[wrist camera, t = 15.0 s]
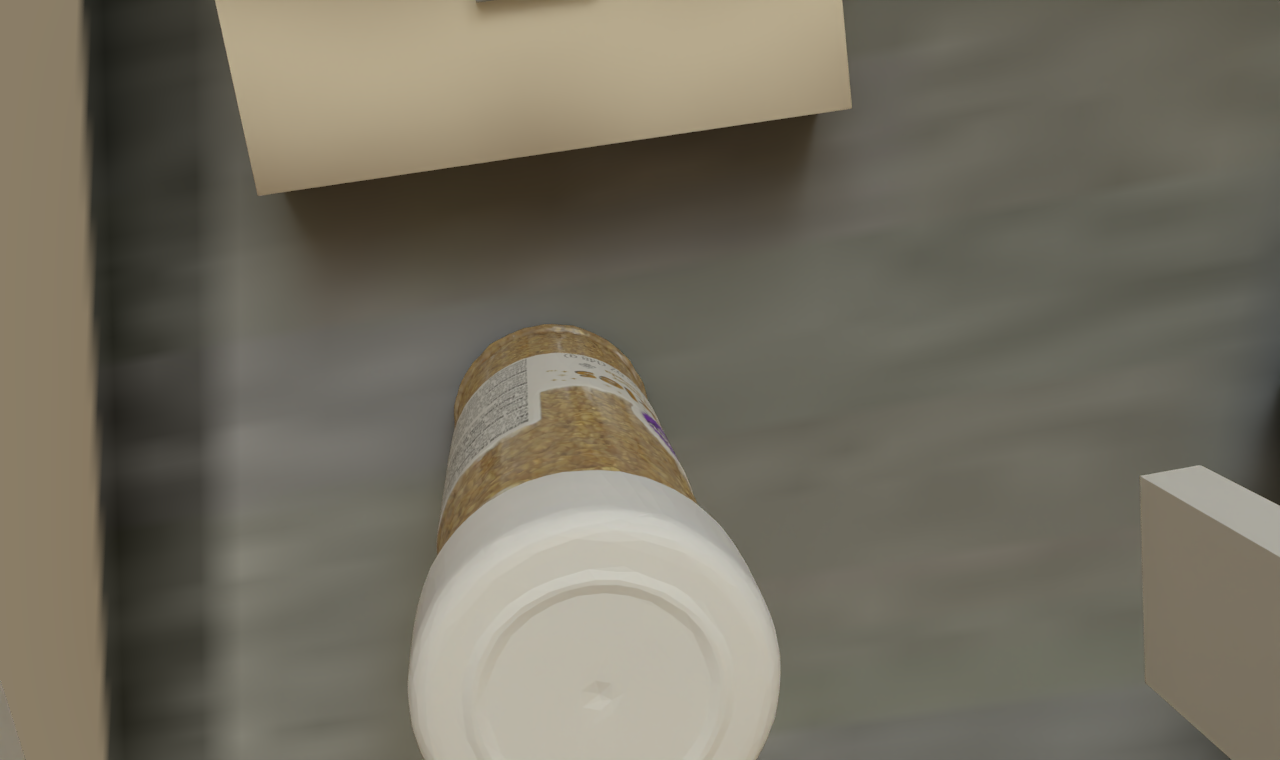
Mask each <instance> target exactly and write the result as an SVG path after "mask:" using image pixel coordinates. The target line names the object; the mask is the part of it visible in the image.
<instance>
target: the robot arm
mask: <svg viewBox="0 0 1280 760" xmlns="http://www.w3.org/2000/svg"><path fill="white" fill-rule="evenodd" d="M1140 502H1141V540H1142V579H1143V618H1144V656H1145V683H1146V684H1147V685H1149V686H1150V687H1151V688H1152V689H1153V690H1154V691H1155V692H1156V693H1158V694H1159V695H1160V696H1161V697H1162V698H1163V699H1164V700H1165V701H1167V702H1168V703H1169V704H1170V705H1171V706H1172V707H1173V708H1174V709H1175V710H1177V711H1178V712H1179V713H1180V714H1181V715H1182V716H1183V717H1184V718H1186V719H1187V720H1188V721H1189V722H1190V723H1191V724H1192V725H1193V726H1195V727H1196V728H1197V729H1198V730H1199V731H1200V732H1201V733H1202V734H1203V735H1205V736H1206V737H1207V738H1208V739H1209V740H1210V741H1211V742H1212V743H1214V744H1215V745H1216V746H1217V747H1218V748H1219V749H1220V750H1221V751H1223V752H1224V753H1225V754H1226V755H1227V756H1228V757H1229V758H1230V759H1231V760H1280V506H1279V505H1277V504H1275V503H1273V502H1271V501H1269V500H1267V499H1266V498H1264V497H1262V496H1260V495H1258V494H1256V493H1254V492H1252V491H1250V490H1248V489H1246V488H1244V487H1242V486H1240V485H1238V484H1236V483H1234V482H1232V481H1230V480H1229V479H1227V478H1225V477H1223V476H1221V475H1219V474H1217V473H1215V472H1213V471H1211V470H1209V469H1207V468H1205V467H1203V466H1201V465H1198V466H1193V467H1187V468H1181V469H1176V470H1170V471H1165V472H1159V473H1154V474H1148V475H1142V476H1140ZM0 760H26V759H25V756H24V753H23V750H22V747H21V744H20V741H19V737H18V734H17V731H16V728H15V724H14V721H13V718H12V715H11V712H10V709H9V705H8V702H7V699H6V696H5V693H4V689H3V687H2V684H1V681H0Z"/></svg>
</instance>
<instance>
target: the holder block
mask: <svg viewBox="0 0 1280 760" xmlns="http://www.w3.org/2000/svg"><path fill="white" fill-rule="evenodd" d="M215 2H216V7H217V12H218V16H219V21H220V25H221V30H222V34H223V39H224V44H225V48H226V53H227V57H228V62H229V66H230V71H231V76H232V80H233V85H234V89H235V94H236V98H237V103H238V107H239V112H240V117H241V121H242V126H243V130H244V135H245V139H246V144H247V149H248V153H249V158H250V162H251V167H252V171H253V176H254V181H255V185H256V190H257V194H258V196H261V195H267V194H274V193H281V192H288V191H295V190H301V189H308V188H315V187H322V186H329V185H335V184H342V183H349V182H356V181H363V180H369V179H376V178H383V177H390V176H397V175H403V174H410V173H417V172H424V171H431V170H437V169H444V168H451V167H458V166H464V165H471V164H478V163H485V162H492V161H498V160H505V159H512V158H519V157H526V156H532V155H539V154H546V153H553V152H560V151H566V150H573V149H580V148H587V147H594V146H600V145H607V144H614V143H621V142H628V141H634V140H641V139H648V138H655V137H662V136H668V135H675V134H682V133H689V132H696V131H702V130H709V129H716V128H723V127H729V126H736V125H743V124H750V123H757V122H763V121H770V120H777V119H784V118H791V117H797V116H804V115H811V114H818V113H825V112H831V111H838V110H845V109H852V102H851V91H850V80H849V69H848V59H847V48H846V37H845V26H844V15H843V5H842V0H215Z"/></svg>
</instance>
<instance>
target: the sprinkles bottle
mask: <svg viewBox="0 0 1280 760" xmlns="http://www.w3.org/2000/svg"><path fill="white" fill-rule="evenodd" d="M454 417H455V430H454V434H453V438H452V443H451V448H450V454H449V460H448V466H447V474H446V480H445V487H444V493H443V499H442V506H441V513H440V519H439V525H438V534H437V557H436V559H435V560H434V562H433V564H432V566H431V567H430V570H429V573H428V575H427V578H426V580H425V583H424V586H423V588H422V592H421V596H420V599H419V603H418V607H417V612H416V618H415V624H414V629H413V636H412V644H411V653H410V662H409V674H408V686H407V687H408V699H409V709H410V716H411V723H412V729H413V732H414V735H415V738H416V741H417V744H418V747H419V749H420V752H421V754H422V756H423V758H424V760H756V759H757V757H758V756H759V754H760V752H761V750H762V748H763V746H764V744H765V742H766V740H767V738H768V735H769V732H770V730H771V727H772V725H773V722H774V719H775V715H776V710H777V704H778V697H779V689H780V672H781V662H780V651H779V646H778V641H777V636H776V631H775V627H774V624H773V621H772V618H771V615H770V612H769V610H768V608H767V605H766V603H765V601H764V598H763V596H762V594H761V592H760V590H759V588H758V586H757V584H756V582H755V580H754V578H753V576H752V574H751V572H750V570H749V568H748V566H747V564H746V562H745V561H744V559H743V557H742V556H741V554H740V552H739V551H738V549H737V547H736V546H735V544H734V543H733V542H732V540H731V539H730V538H729V536H728V535H727V533H726V532H725V531H724V529H723V528H722V527H721V526H720V525H719V523H718V522H717V521H715V520H714V519H713V518H712V517H711V516H710V515H709V514H708V513H707V512H706V511H704V510H703V509H702V508H701V507H700V506H698V504H697V502H696V499H695V497H694V496H693V492H692V488H691V486H690V483H689V481H688V479H687V476H686V474H685V472H684V470H683V468H682V466H681V464H680V463H679V461H678V459H677V457H676V455H675V453H674V451H673V449H672V447H671V445H670V443H669V441H668V439H667V437H666V435H665V433H664V431H663V429H662V427H661V424H660V422H659V420H658V418H657V416H656V414H655V412H654V410H653V408H652V406H651V404H650V403H649V401H648V400H647V396H646V392H645V388H644V384H643V382H642V380H641V378H640V376H639V375H638V374H637V372H636V371H635V369H634V367H633V365H632V364H631V362H630V360H629V359H628V358H627V357H626V356H625V355H624V354H623V353H622V352H621V351H620V350H619V349H618V348H616V347H615V346H614V345H612V344H611V343H610V342H608V341H607V340H606V339H604V338H602V337H600V336H598V335H596V334H594V333H591V332H589V331H586V330H584V329H581V328H578V327H575V326H571V325H557V324H543V325H539V326H535V327H528V328H524V329H521V330H518V331H516V332H514V333H511V334H508V335H507V336H505V337H503V338H501V339H499V340H497V341H495V342H493V343H492V344H490V345H489V346H488V347H487V348H486V349H485V351H484V352H483V353H482V354H481V356H479V357H478V358H477V359H476V360H475V361H474V362H473V364H472V365H471V366H470V368H469V370H468V371H467V373H466V374H465V376H464V378H463V380H462V382H461V384H460V387H459V391H458V394H457V397H456V401H455V406H454Z"/></svg>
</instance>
